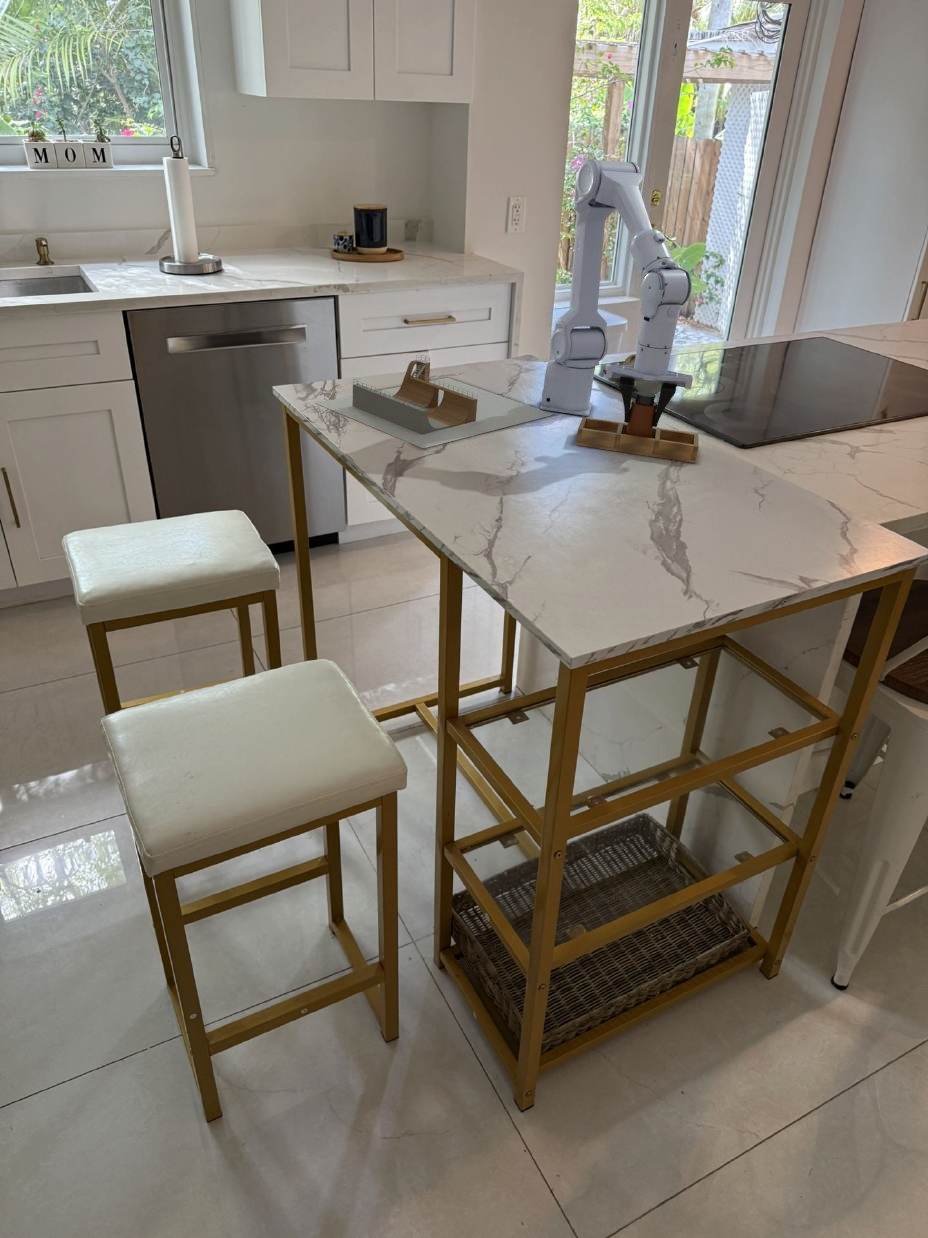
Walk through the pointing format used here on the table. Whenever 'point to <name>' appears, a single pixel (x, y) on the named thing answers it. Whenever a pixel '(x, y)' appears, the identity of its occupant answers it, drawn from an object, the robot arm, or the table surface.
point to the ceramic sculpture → (639, 385)
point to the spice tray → (638, 440)
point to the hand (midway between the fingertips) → (640, 423)
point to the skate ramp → (432, 408)
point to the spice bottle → (642, 415)
